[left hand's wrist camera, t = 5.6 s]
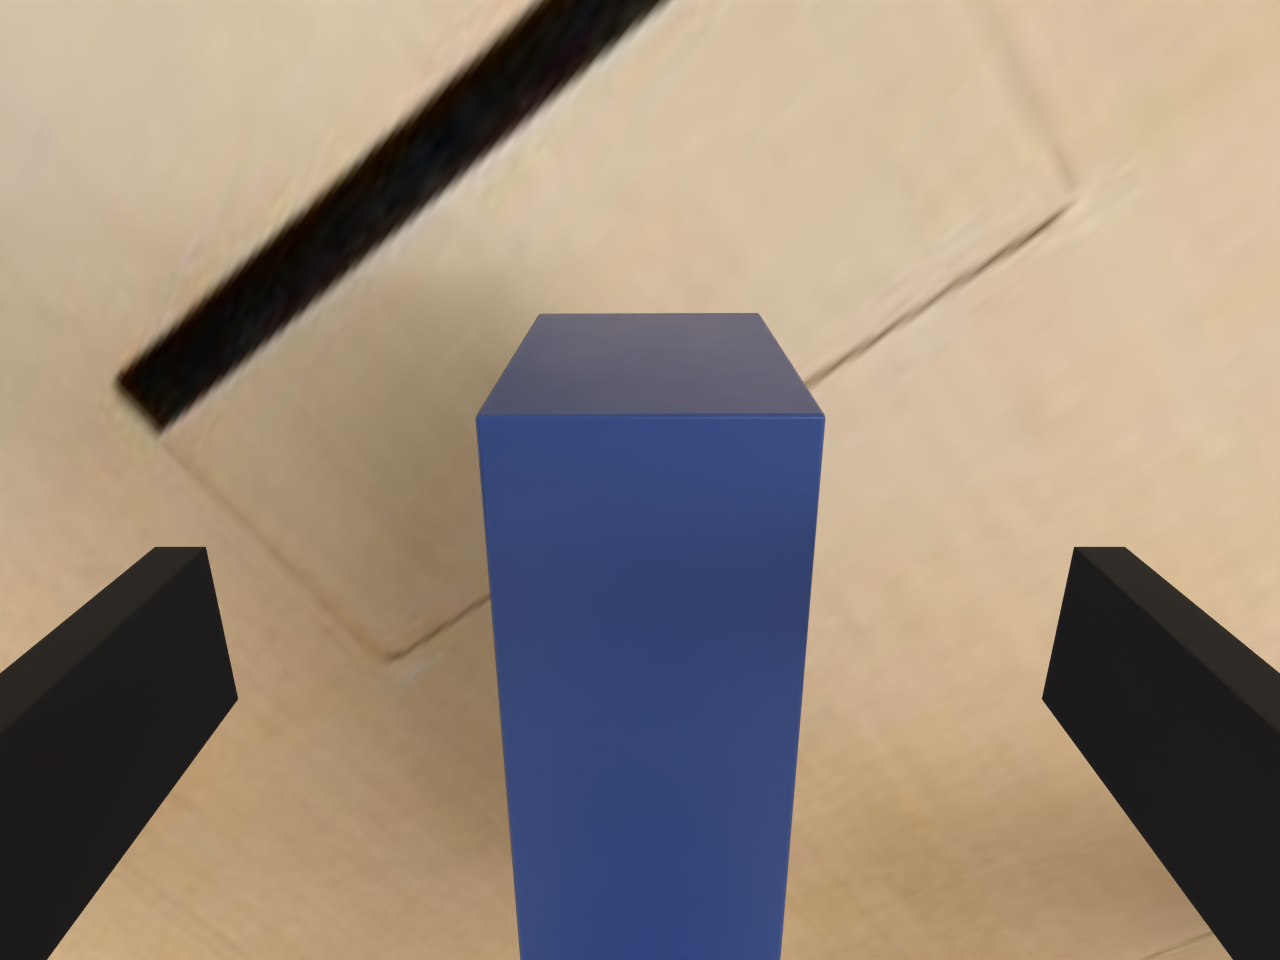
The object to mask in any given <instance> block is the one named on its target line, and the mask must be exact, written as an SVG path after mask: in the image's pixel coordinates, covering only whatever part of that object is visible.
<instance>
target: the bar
mask: <svg viewBox="0 0 1280 960" xmlns="http://www.w3.org/2000/svg"><path fill="white" fill-rule="evenodd" d="M824 428H825V415H824V414H823V412H822V410H821V409H820V407H819V406H818V404H817V403H816V401H815V400H814V398H813V397H812V395H811V393H810V392H809V390H808V389H807V387H806V386H805V384H804V383H803V381H802V380H801V378H800V376H799V375H798V373H797V372H796V370H795V369H794V367H793V366H792V364H791V363H790V361H789V359H788V358H787V356H786V355H785V353H784V352H783V350H782V349H781V347H780V346H779V344H778V342H777V341H776V339H775V338H774V336H773V335H772V333H771V332H770V330H769V329H768V327H767V325H766V324H765V322H764V321H763V319H762V318H761V316H760V315H759V314H758V313H657V314H539V315H538V317H537V319H536V320H535V322H534V323H533V325H532V327H531V328H530V330H529V332H528V333H527V335H526V336H525V338H524V340H523V341H522V343H521V344H520V346H519V348H518V349H517V351H516V353H515V354H514V356H513V357H512V359H511V361H510V362H509V364H508V366H507V367H506V369H505V370H504V372H503V374H502V375H501V377H500V378H499V380H498V382H497V383H496V385H495V387H494V388H493V390H492V391H491V393H490V395H489V396H488V398H487V400H486V401H485V403H484V404H483V406H482V408H481V409H480V411H479V413H478V414H477V416H476V429H477V441H478V453H479V465H480V478H481V490H482V502H483V514H484V526H485V538H486V550H487V562H488V574H489V586H490V598H491V610H492V623H493V635H494V647H495V659H496V671H497V683H498V695H499V707H500V719H501V731H502V743H503V756H504V768H505V780H506V792H507V804H508V816H509V828H510V840H511V852H512V864H513V876H514V888H515V901H516V913H517V925H518V937H519V949H520V960H780V957H781V945H782V933H783V921H784V909H785V897H786V885H787V873H788V861H789V849H790V837H791V825H792V813H793V801H794V789H795V777H796V765H797V753H798V741H799V729H800V717H801V705H802V693H803V680H804V668H805V656H806V644H807V632H808V620H809V608H810V596H811V584H812V572H813V560H814V548H815V536H816V524H817V512H818V500H819V488H820V476H821V464H822V452H823V440H824Z"/></svg>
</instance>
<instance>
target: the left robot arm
mask: <svg viewBox="0 0 1280 960" xmlns="http://www.w3.org/2000/svg"><path fill="white" fill-rule="evenodd" d="M237 700H238V696H237V692H236V687H235V682H234V677H233V673H232V668H231V663H230V659H229V654H228V649H227V644H226V640H225V635H224V630H223V626H222V621H221V616H220V611H219V607H218V602H217V597H216V593H215V588H214V583H213V578H212V574H211V569H210V564H209V560H208V555H207V550H206V547H154V548H153V549H152V550H151V551H150V552H148V553H147V554H146V555H145V556H143V557H142V558H141V559H140V560H139V561H137V562H136V563H135V564H134V565H132V566H131V567H130V568H129V569H128V570H126V571H125V572H124V573H123V574H121V575H120V576H119V577H118V578H117V579H115V580H114V581H113V582H112V583H110V584H109V585H108V586H107V587H105V588H104V589H103V590H102V591H101V592H99V593H98V594H97V595H96V596H94V597H93V598H92V599H91V600H90V601H88V602H87V603H86V604H85V605H83V606H82V607H81V608H80V609H79V610H77V611H76V612H75V613H74V614H72V615H71V616H70V617H69V618H68V619H66V620H65V621H64V622H63V623H61V624H60V625H59V626H58V627H56V628H55V629H54V630H53V631H52V632H50V633H49V634H48V635H47V636H45V637H44V638H43V639H42V640H41V641H39V642H38V643H37V644H36V645H34V646H33V647H32V648H31V649H30V650H28V651H27V652H26V653H25V654H23V655H22V656H21V657H20V658H19V659H17V660H16V661H15V662H14V663H12V664H11V665H10V666H9V667H7V668H6V669H5V670H4V671H3V672H1V673H0V960H47V959H48V958H49V956H50V955H51V953H52V952H53V951H54V949H55V948H56V947H57V945H58V944H59V943H60V941H61V940H62V938H63V937H64V936H65V934H66V933H67V932H68V930H69V929H70V928H71V926H72V925H73V923H74V922H75V921H76V919H77V918H78V917H79V915H80V914H81V913H82V911H83V910H84V908H85V907H86V906H87V904H88V903H89V902H90V900H91V899H92V898H93V896H94V895H95V893H96V892H97V891H98V889H99V888H100V887H101V885H102V884H103V883H104V881H105V880H106V878H107V877H108V876H109V874H110V873H111V872H112V870H113V869H114V868H115V866H116V865H117V863H118V862H119V861H120V859H121V858H122V857H123V855H124V854H125V853H126V851H127V850H128V848H129V847H130V846H131V844H132V843H133V842H134V840H135V839H136V838H137V836H138V835H139V833H140V832H141V831H142V829H143V828H144V827H145V825H146V824H147V823H148V821H149V820H150V818H151V817H152V816H153V814H154V813H155V812H156V810H157V809H158V808H159V806H160V805H161V803H162V802H163V801H164V799H165V798H166V797H167V795H168V794H169V793H170V791H171V790H172V788H173V787H174V786H175V784H176V783H177V782H178V780H179V779H180V778H181V776H182V775H183V773H184V772H185V771H186V769H187V768H188V767H189V765H190V764H191V763H192V761H193V760H194V758H195V757H196V756H197V754H198V753H199V752H200V750H201V749H202V748H203V746H204V745H205V743H206V742H207V741H208V739H209V738H210V737H211V735H212V734H213V733H214V731H215V730H216V728H217V727H218V726H219V724H220V723H221V722H222V720H223V719H224V718H225V716H226V715H227V713H228V712H229V711H230V709H231V708H232V707H233V705H234V704H235V703H236V701H237ZM1042 700H1043V701H1044V703H1045V704H1046V705H1047V707H1048V708H1049V709H1050V711H1051V712H1052V713H1053V715H1054V716H1055V718H1056V719H1057V720H1058V722H1059V723H1060V724H1061V726H1062V727H1063V728H1064V730H1065V731H1066V733H1067V734H1068V735H1069V737H1070V738H1071V739H1072V741H1073V742H1074V743H1075V745H1076V746H1077V748H1078V749H1079V750H1080V752H1081V753H1082V754H1083V756H1084V757H1085V758H1086V760H1087V761H1088V763H1089V764H1090V765H1091V767H1092V768H1093V769H1094V771H1095V772H1096V773H1097V775H1098V776H1099V778H1100V779H1101V780H1102V782H1103V783H1104V784H1105V786H1106V787H1107V788H1108V790H1109V791H1110V793H1111V794H1112V795H1113V797H1114V798H1115V799H1116V801H1117V802H1118V803H1119V805H1120V806H1121V808H1122V809H1123V810H1124V812H1125V813H1126V814H1127V816H1128V817H1129V818H1130V820H1131V821H1132V823H1133V824H1134V825H1135V827H1136V828H1137V829H1138V831H1139V832H1140V833H1141V835H1142V836H1143V838H1144V839H1145V840H1146V842H1147V843H1148V844H1149V846H1150V847H1151V848H1152V850H1153V851H1154V853H1155V854H1156V855H1157V857H1158V858H1159V859H1160V861H1161V862H1162V863H1163V865H1164V866H1165V868H1166V869H1167V870H1168V872H1169V873H1170V874H1171V876H1172V877H1173V878H1174V880H1175V881H1176V883H1177V884H1178V885H1179V887H1180V888H1181V889H1182V891H1183V892H1184V893H1185V895H1186V896H1187V898H1188V899H1189V900H1190V902H1191V903H1192V904H1193V906H1194V907H1195V908H1196V910H1197V911H1198V913H1199V914H1200V915H1201V917H1202V918H1203V919H1204V921H1205V922H1206V923H1207V925H1208V926H1209V928H1210V929H1211V930H1212V932H1213V933H1214V934H1215V936H1216V937H1217V938H1218V940H1219V941H1220V943H1221V944H1222V945H1223V947H1224V948H1225V949H1226V951H1227V952H1228V953H1229V955H1230V956H1231V958H1232V959H1233V960H1280V673H1279V672H1277V671H1276V670H1275V669H1274V668H1273V667H1271V666H1270V665H1269V664H1268V663H1266V662H1265V661H1264V660H1263V659H1261V658H1260V657H1259V656H1258V655H1257V654H1255V653H1254V652H1253V651H1252V650H1250V649H1249V648H1248V647H1247V646H1246V645H1244V644H1243V643H1242V642H1241V641H1239V640H1238V639H1237V638H1236V637H1235V636H1233V635H1232V634H1231V633H1230V632H1228V631H1227V630H1226V629H1225V628H1224V627H1222V626H1221V625H1220V624H1219V623H1217V622H1216V621H1215V620H1214V619H1212V618H1211V617H1210V616H1209V615H1208V614H1206V613H1205V612H1204V611H1203V610H1201V609H1200V608H1199V607H1198V606H1197V605H1195V604H1194V603H1193V602H1192V601H1190V600H1189V599H1188V598H1187V597H1186V596H1184V595H1183V594H1182V593H1181V592H1179V591H1178V590H1177V589H1176V588H1175V587H1173V586H1172V585H1171V584H1170V583H1168V582H1167V581H1166V580H1165V579H1163V578H1162V577H1161V576H1160V575H1159V574H1157V573H1156V572H1155V571H1154V570H1152V569H1151V568H1150V567H1149V566H1148V565H1146V564H1145V563H1144V562H1143V561H1141V560H1140V559H1139V558H1138V557H1137V556H1135V555H1134V554H1133V553H1132V552H1130V551H1129V550H1128V549H1127V548H1126V547H1074V550H1073V555H1072V560H1071V564H1070V569H1069V574H1068V578H1067V583H1066V588H1065V593H1064V597H1063V602H1062V607H1061V611H1060V616H1059V621H1058V626H1057V630H1056V635H1055V640H1054V644H1053V649H1052V654H1051V659H1050V663H1049V668H1048V673H1047V677H1046V682H1045V687H1044V692H1043V696H1042Z"/></svg>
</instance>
